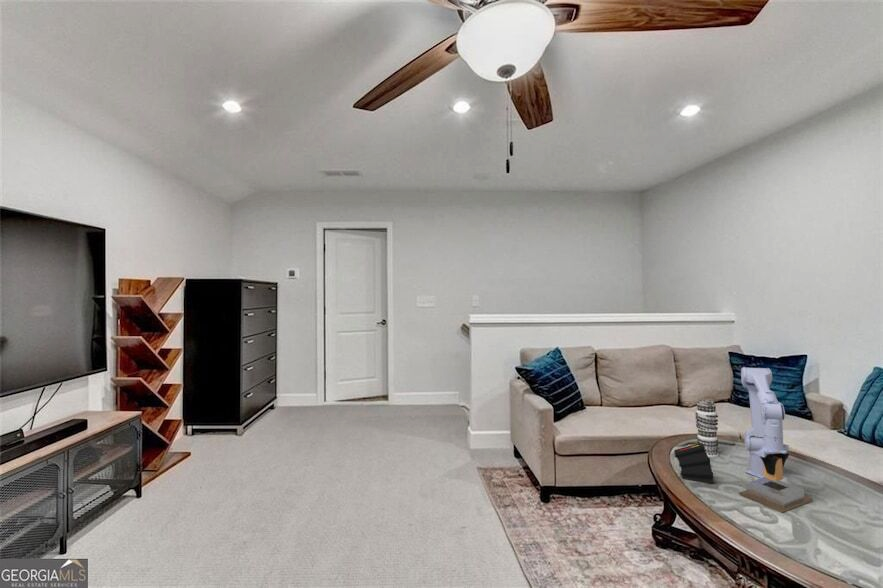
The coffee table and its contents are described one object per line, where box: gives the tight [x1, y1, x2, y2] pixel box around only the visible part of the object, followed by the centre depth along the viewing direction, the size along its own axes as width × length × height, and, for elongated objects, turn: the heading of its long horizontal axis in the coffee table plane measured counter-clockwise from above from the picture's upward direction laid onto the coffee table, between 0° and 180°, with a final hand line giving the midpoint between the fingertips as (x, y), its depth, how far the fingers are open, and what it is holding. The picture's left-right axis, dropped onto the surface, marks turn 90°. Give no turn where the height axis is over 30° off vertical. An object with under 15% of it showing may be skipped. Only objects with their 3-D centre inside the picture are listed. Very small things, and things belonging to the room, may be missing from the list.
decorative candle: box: [694, 398, 720, 458], centre depth 194 cm, size 9×9×25 cm
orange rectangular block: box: [764, 456, 784, 481], centre depth 152 cm, size 4×4×8 cm
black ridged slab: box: [673, 443, 714, 485], centre depth 168 cm, size 4×13×15 cm, turn 58°
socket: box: [739, 477, 814, 514], centre depth 152 cm, size 18×14×4 cm
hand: (774, 472), depth 152 cm, fingers closed on orange rectangular block, 4 cm apart
